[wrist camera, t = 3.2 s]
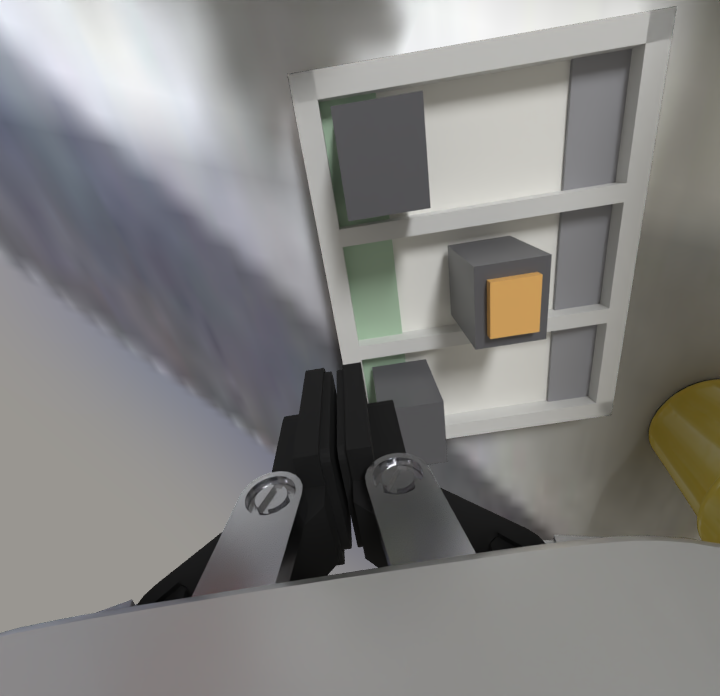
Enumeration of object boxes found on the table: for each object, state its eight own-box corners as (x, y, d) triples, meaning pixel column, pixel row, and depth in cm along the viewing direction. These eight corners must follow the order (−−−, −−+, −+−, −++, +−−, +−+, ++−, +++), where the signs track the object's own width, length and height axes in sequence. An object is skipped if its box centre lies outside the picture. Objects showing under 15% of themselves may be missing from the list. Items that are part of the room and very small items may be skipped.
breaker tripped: (509, 235, 19) (556, 256, 15) (508, 305, 20) (550, 343, 16) (447, 245, 19) (476, 269, 15) (450, 314, 20) (478, 354, 16)
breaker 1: (404, 106, 16) (422, 90, 12) (412, 198, 18) (430, 207, 14) (333, 118, 16) (330, 106, 13) (347, 208, 18) (348, 221, 14)
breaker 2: (425, 359, 21) (443, 401, 18) (430, 412, 23) (447, 462, 19) (371, 367, 22) (377, 411, 18) (380, 419, 23) (387, 470, 19)
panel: (637, 24, 17) (677, 6, 15) (589, 394, 25) (611, 415, 23) (293, 84, 17) (287, 74, 15) (358, 428, 25) (359, 451, 23)
